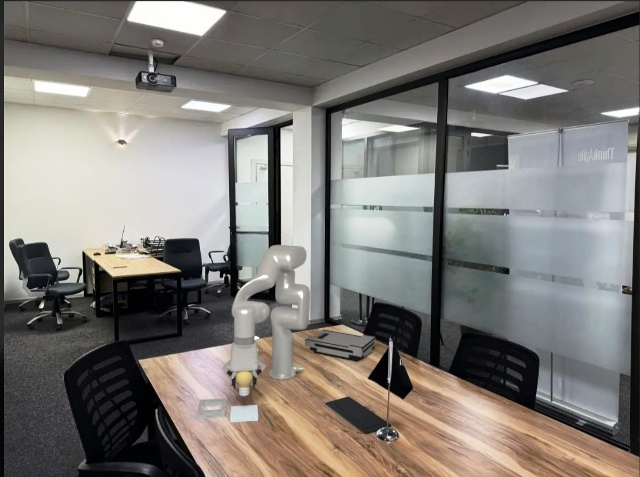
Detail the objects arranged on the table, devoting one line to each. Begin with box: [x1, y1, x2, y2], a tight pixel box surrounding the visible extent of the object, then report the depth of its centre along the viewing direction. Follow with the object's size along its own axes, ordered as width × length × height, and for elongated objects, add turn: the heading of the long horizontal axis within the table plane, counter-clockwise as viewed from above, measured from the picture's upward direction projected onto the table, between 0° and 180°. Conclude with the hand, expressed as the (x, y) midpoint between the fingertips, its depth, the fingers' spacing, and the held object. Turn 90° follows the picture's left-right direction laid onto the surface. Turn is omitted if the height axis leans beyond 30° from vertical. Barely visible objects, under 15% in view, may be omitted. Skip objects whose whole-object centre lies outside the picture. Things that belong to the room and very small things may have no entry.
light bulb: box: [235, 371, 253, 397], centre depth 158 cm, size 6×6×10 cm
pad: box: [229, 404, 259, 423], centre depth 159 cm, size 10×10×1 cm
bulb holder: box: [196, 397, 227, 420], centre depth 161 cm, size 10×10×2 cm
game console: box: [304, 329, 377, 363], centre depth 227 cm, size 21×32×8 cm, turn 63°
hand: (244, 386), depth 158 cm, fingers closed on light bulb, 6 cm apart
